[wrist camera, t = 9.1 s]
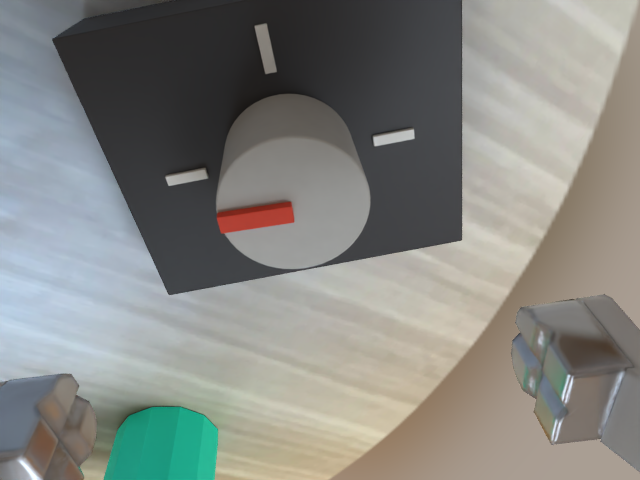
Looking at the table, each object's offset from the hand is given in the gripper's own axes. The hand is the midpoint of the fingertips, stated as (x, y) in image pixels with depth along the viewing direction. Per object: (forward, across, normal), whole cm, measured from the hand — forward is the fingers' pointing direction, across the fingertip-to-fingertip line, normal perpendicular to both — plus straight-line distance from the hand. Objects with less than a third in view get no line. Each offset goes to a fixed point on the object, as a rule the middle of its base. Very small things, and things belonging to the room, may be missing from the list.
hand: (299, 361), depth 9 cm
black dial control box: (+12, 0, 0) cm, 12 cm away
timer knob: (+9, 0, 0) cm, 9 cm away
